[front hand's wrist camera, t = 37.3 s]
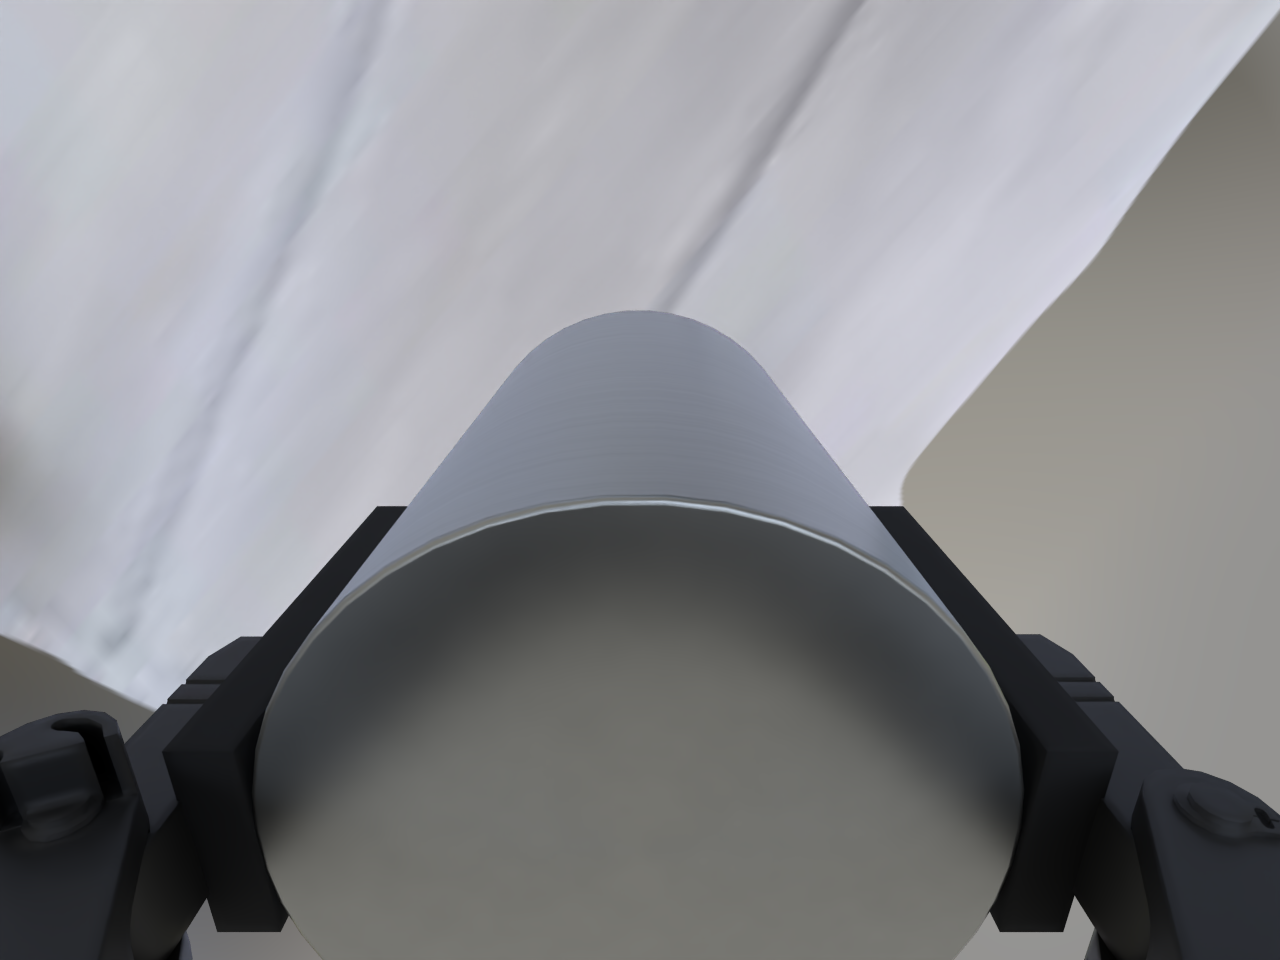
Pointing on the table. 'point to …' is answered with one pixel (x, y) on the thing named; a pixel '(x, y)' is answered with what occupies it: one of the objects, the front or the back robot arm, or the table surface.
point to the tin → (638, 694)
